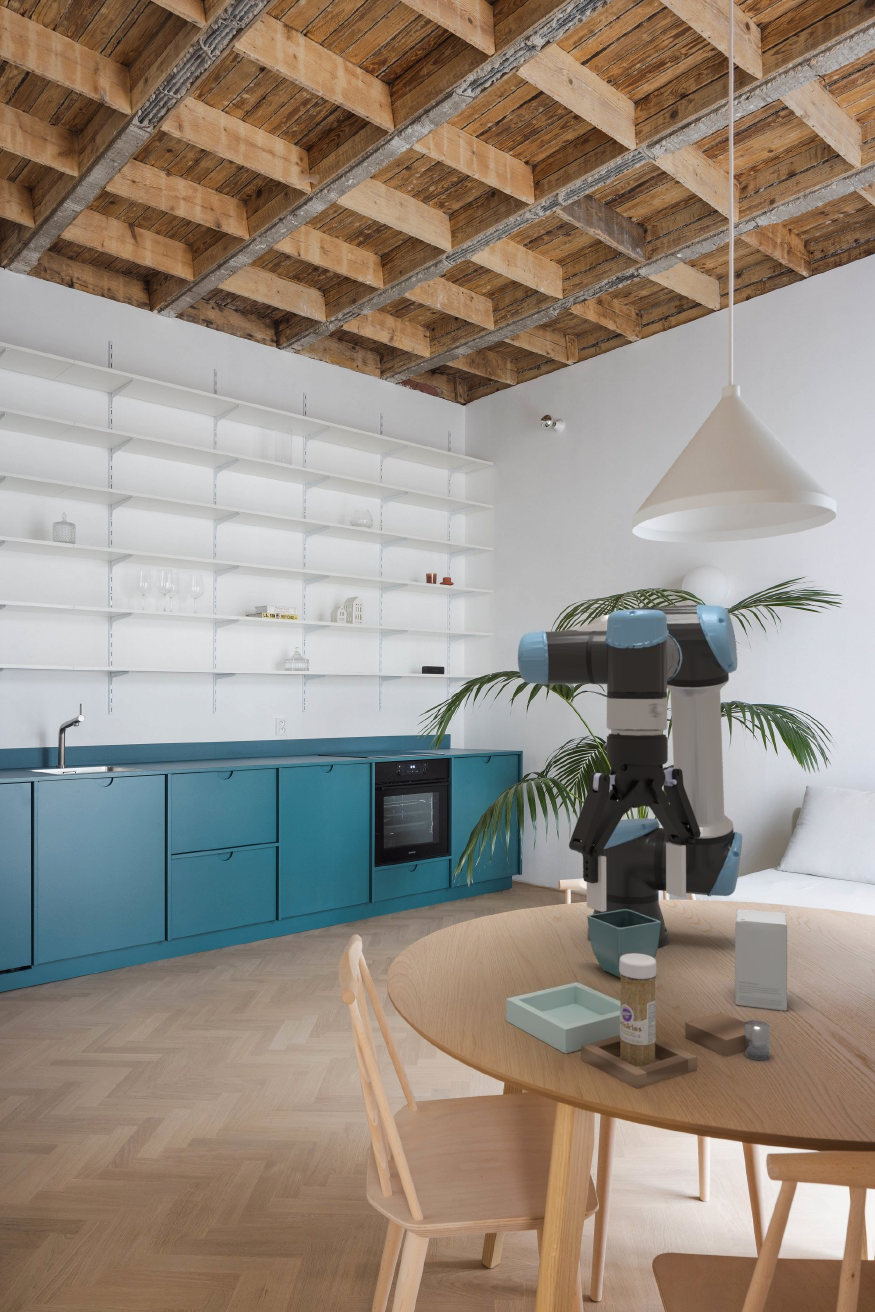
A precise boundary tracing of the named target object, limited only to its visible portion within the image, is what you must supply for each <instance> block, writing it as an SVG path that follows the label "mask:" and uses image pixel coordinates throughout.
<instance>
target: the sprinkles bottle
mask: <svg viewBox="0 0 875 1312" xmlns="http://www.w3.org/2000/svg"><path fill="white" fill-rule="evenodd" d="M619 971H620V976H621V978H620V1002H621V1012H620V1039H621V1044H620V1046H621V1048H620V1055H619V1056H620V1057H619V1058H620V1059H622V1060H624V1061H625V1062H627V1063H629V1064H631V1065H633V1066H635V1067H637V1068H639V1067H642V1066H645V1065H648V1064H651V1063H655V1062H657V1061H656V1058H655V1040H656V1038H657V1036H656V1034H657V1033H656V1032H657V1031H656V1028H657V1027H656V1021H657V1019H656V1018H657V1017H656V1013H657V1012H656V1010H657V1008H656V1003H657V1002H656V979H657V960H656V958H653V957H651V956H648V955H645V954H637V953H631V954H625V955H622V956H621V957H620V960H619Z"/></svg>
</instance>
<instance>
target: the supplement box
mask: <svg viewBox="0 0 875 1312" xmlns="http://www.w3.org/2000/svg"><path fill="white" fill-rule="evenodd" d="M734 932H735V933H734V934H735V936H734V939H735V940H734V941H735V942H734V943H735V944H734V949H735V950H734V951H735V952H734V954H735V955H734V956H735V958H734V959H735V961H734V963H735V965H734V968H735V972H734V973H735V974H734V982H735V985H734V987H735V988H734V991H735V992H734V996H735V997H734V1000H735V1005H737V1006H743V1007H749V1008H750V1007H751V1008H758V1009H764V1010H774V1011H782V1012H783V1011H784V1012H787V1010H788V921H787V915H786V913H785V912H780V911H778V912H777V911H776V912H775V911H765V910H764V911H763V910H752V909H751V910H750V909H736V915H735V930H734Z"/></svg>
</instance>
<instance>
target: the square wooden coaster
mask: <svg viewBox="0 0 875 1312" xmlns="http://www.w3.org/2000/svg"><path fill="white" fill-rule="evenodd" d="M745 1022H746V1021H743V1020H741V1019H738V1018H735V1017H734V1016H732V1015H729V1014H726V1013H724V1012H718V1013H715V1014H714V1013H713V1014H711V1015H706V1016H703V1017H700V1018H696V1019H693V1020H692V1019H691V1020H689V1021H686V1022H684V1025H685V1026H684V1035H685V1036H684V1037H685V1039H686V1040H688V1041H691V1042H693V1043H695V1044H697V1045H700V1046H701V1047H704V1048H706V1049H708V1050H710V1051H712V1052H715V1053H717V1054H718V1055H720V1056H723V1057H726V1058H727V1057H730V1056H733V1055H736V1054H740V1053H742V1052H745Z"/></svg>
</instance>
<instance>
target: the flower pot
mask: <svg viewBox="0 0 875 1312" xmlns="http://www.w3.org/2000/svg"><path fill="white" fill-rule="evenodd" d="M586 919H587V927H588V928H589V935H590V941H591V942H590V941H589V942H590V946H591V949H592V953H593V955H594V956H595V959H596V960H597V962H598V964H599V966H600V967H601V969H602V970H603V971H605V972H607V973H609V974H611V975H613V976H616V977H617V978H620V979H621V976H620V971H619V960H620V957H621V956H622V955H625V954H631V953H637V954H645V955H648V956H651V957H653V958H654V959H656V956H657V952H658V949H659V948H658V941H659V933H660V925H661V921H659V920H656V919H653V918H650V917H647V916H645V915H642V914H639V913H637V912H634V911H632V910H628V909H623V910H617V911H611V912H605V913H600V914H593V913H592V914H589V915H587V916H586ZM588 928H587V929H588ZM657 948H658V949H657Z"/></svg>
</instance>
